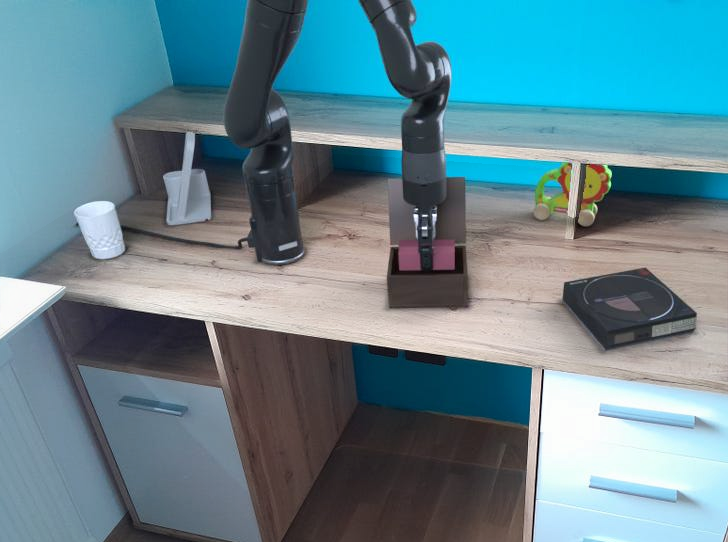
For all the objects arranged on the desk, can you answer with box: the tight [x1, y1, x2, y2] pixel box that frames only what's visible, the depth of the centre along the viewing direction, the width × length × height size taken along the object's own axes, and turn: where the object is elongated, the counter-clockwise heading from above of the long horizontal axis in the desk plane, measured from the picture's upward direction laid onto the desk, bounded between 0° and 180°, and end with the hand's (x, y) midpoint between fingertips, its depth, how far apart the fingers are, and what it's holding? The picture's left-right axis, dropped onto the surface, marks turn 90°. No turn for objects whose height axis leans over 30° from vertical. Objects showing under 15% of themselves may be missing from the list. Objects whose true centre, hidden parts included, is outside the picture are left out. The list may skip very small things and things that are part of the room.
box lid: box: [387, 176, 467, 246], centre depth 130 cm, size 12×14×1 cm
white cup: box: [73, 200, 126, 260], centre depth 145 cm, size 8×8×10 cm
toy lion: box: [533, 162, 613, 227], centre depth 150 cm, size 16×5×15 cm, turn 69°
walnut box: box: [386, 245, 469, 310], centre depth 129 cm, size 11×14×7 cm
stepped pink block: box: [398, 239, 456, 271], centre depth 126 cm, size 10×5×4 cm, turn 89°
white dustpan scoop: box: [162, 132, 212, 226], centre depth 160 cm, size 17×10×18 cm, turn 15°
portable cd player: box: [561, 267, 698, 352], centre depth 121 cm, size 16×17×4 cm
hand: (427, 261), depth 127 cm, fingers closed on stepped pink block, 5 cm apart
